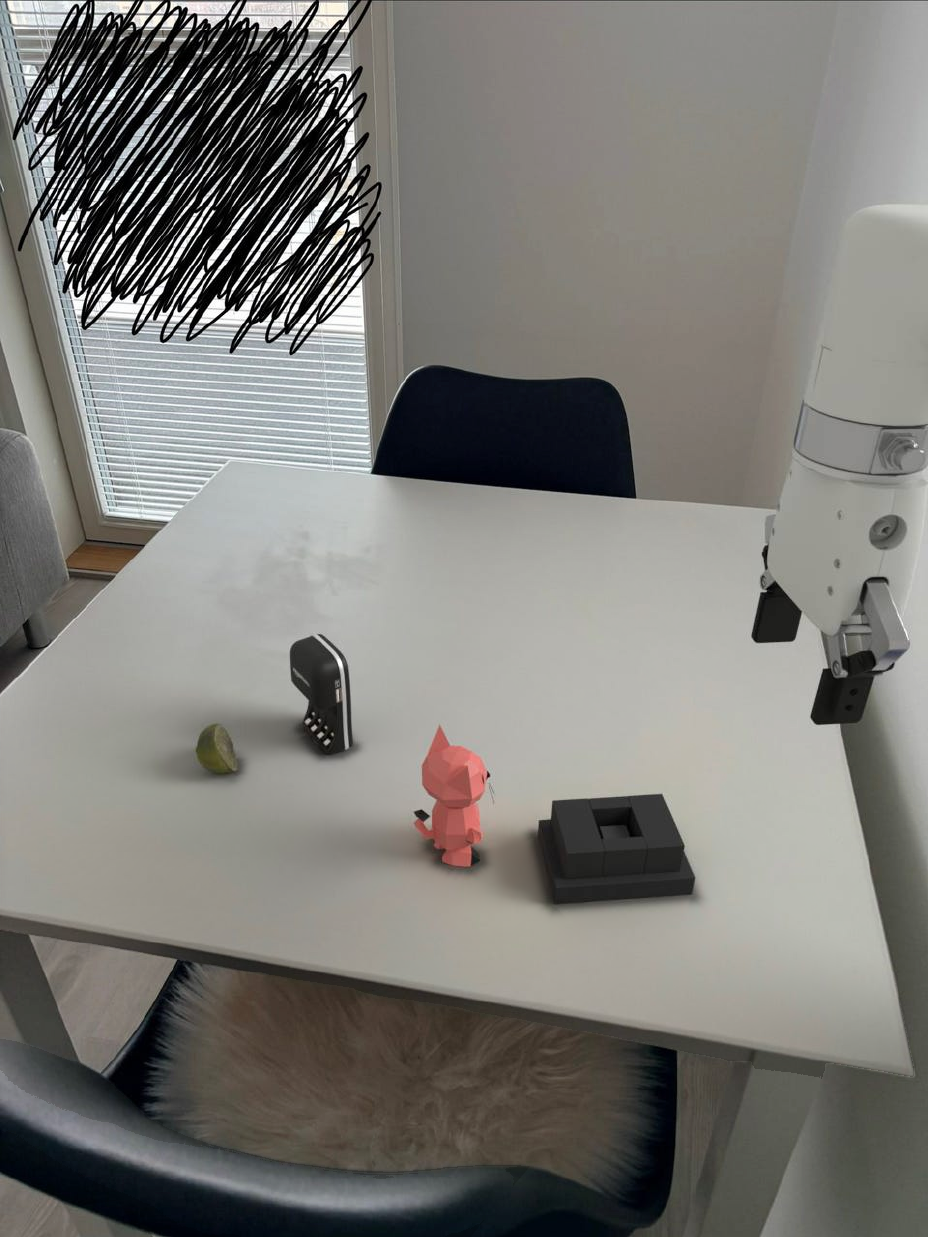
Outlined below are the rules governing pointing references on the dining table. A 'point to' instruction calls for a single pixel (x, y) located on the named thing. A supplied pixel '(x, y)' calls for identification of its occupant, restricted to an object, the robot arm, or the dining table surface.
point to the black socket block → (640, 853)
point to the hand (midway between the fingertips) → (801, 678)
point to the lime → (216, 750)
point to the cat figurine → (453, 800)
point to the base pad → (609, 885)
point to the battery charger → (323, 691)
